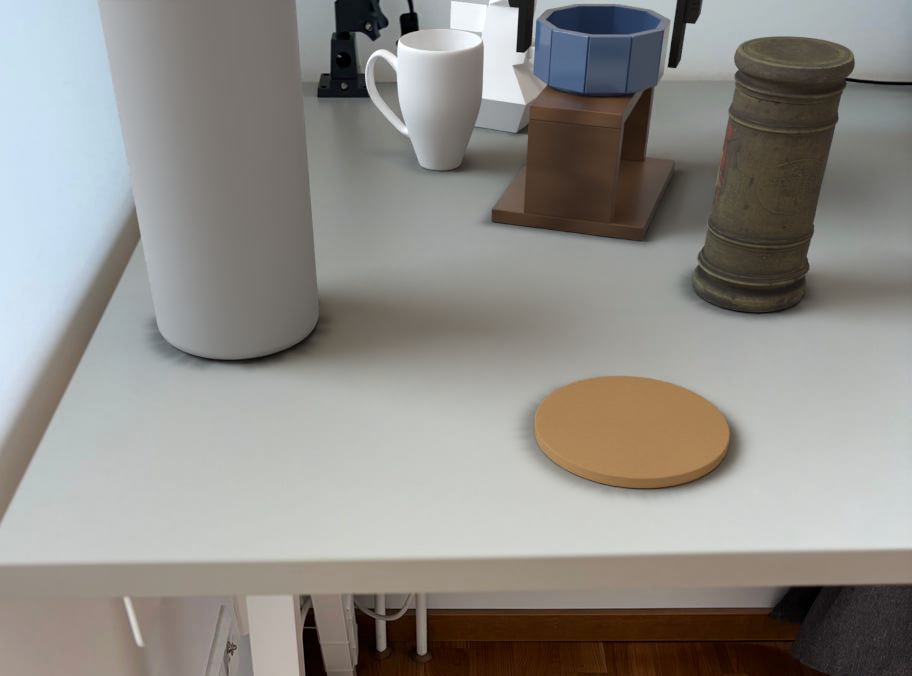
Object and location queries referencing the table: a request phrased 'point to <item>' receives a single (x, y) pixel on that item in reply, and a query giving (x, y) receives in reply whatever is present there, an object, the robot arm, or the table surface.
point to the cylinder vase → (218, 169)
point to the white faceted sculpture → (500, 64)
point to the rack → (587, 167)
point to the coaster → (631, 431)
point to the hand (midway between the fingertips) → (597, 56)
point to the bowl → (600, 49)
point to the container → (771, 172)
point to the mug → (435, 92)
